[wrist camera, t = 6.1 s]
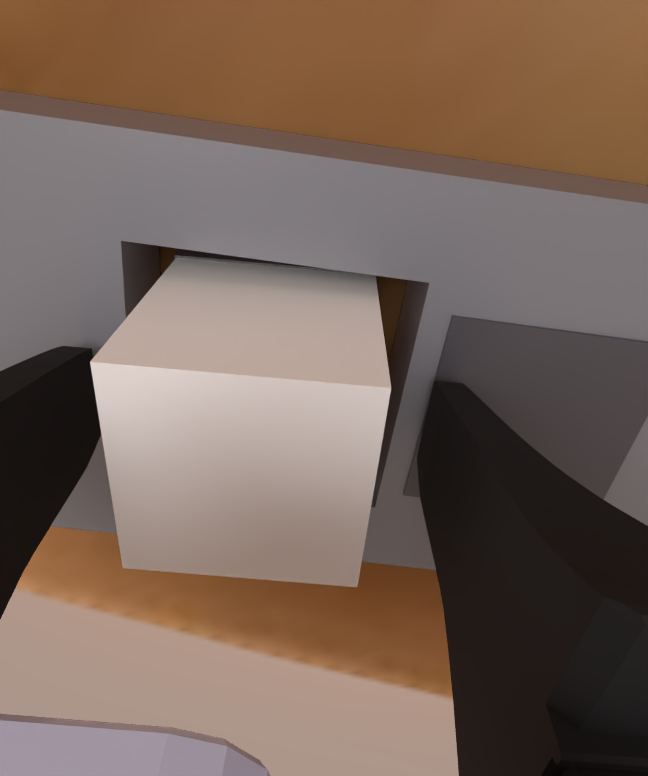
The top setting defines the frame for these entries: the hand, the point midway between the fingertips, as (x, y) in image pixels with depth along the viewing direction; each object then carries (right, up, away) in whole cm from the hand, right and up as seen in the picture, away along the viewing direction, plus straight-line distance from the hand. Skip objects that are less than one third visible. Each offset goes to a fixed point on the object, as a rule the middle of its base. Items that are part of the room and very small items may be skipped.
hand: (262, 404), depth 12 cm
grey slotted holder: (+3, +1, +3) cm, 4 cm away
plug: (0, +2, +3) cm, 3 cm away
